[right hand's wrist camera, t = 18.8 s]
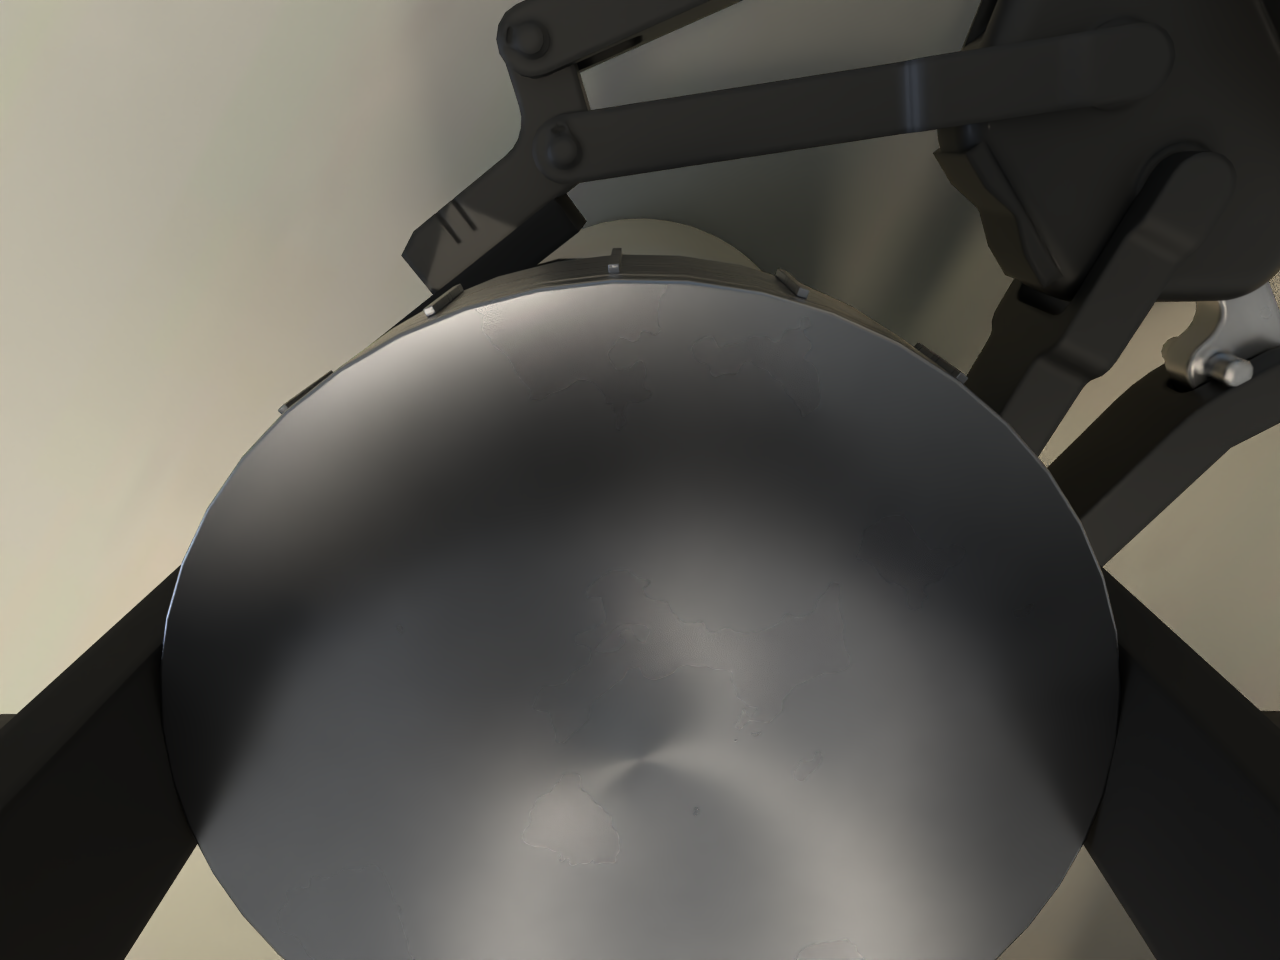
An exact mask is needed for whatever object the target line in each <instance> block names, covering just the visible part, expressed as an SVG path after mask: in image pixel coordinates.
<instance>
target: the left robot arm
mask: <svg viewBox="0 0 1280 960" xmlns="http://www.w3.org/2000/svg"><path fill="white" fill-rule="evenodd" d="M740 1H742V0H525V1H523V2H520V3H518V4H516V5H515V6H513V7H512V8H511V9H510V10H508V11H507V12H506V13H505V14H504V16H503V18H502V19H501V21H500V23H499V25H498V31H497V39H496V40H497V44H498V49H499V54H500V55H501V57H502V58H503V60H504V61H505V63H506V66H507V69H508V72H509V76H510V79H511V82H512V85H513V88H514V91H515V94H516V98H517V101H518V104H519V108H520V113H521V130H520V134H519V138H518V140H517V142H516V144H515V145H514V147H513V149H512V150H511V151H510V152H509V153H508V154H507V155H506V156H505V157H504V158H502V159H501V160H500V161H499V162H498V163H496V164H495V165H494V166H493V167H491V168H490V169H489V170H488V171H487V172H485V173H484V174H483V175H482V176H481V177H479V178H478V179H477V180H476V181H474V182H473V183H472V184H471V185H470V186H468V187H467V188H466V189H465V190H463V191H462V192H461V193H460V194H459V195H457V196H456V197H455V198H454V199H453V200H452V201H450V202H449V203H448V204H446V205H445V206H444V207H443V208H442V209H440V210H439V211H438V212H437V213H436V214H434V215H433V216H432V217H431V218H429V219H428V220H427V221H426V222H424V223H423V224H422V225H421V226H420V227H418V228H417V229H416V230H415V231H414V232H413V234H412V236H411V238H410V240H409V241H408V243H407V245H406V247H405V249H404V251H403V253H402V255H401V256H402V257H403V258H404V259H405V261H406V262H407V263H408V264H409V266H410V267H411V268H412V269H413V270H414V272H415V273H416V274H417V275H418V277H419V278H420V279H421V280H422V281H423V283H424V284H425V285H426V286H427V288H428V289H429V290H430V291H431V293H432V294H433V295H432V296H431V297H430V298H428V299H427V300H426V301H425V302H423V303H422V304H421V305H420V306H418V307H417V308H416V309H415V310H413V311H412V312H411V313H410V314H408V315H407V316H406V317H405V318H403V319H402V320H401V321H400V322H398V323H397V324H396V325H395V326H393V327H392V328H391V329H393V328H394V327H396V326H398V325H400V324H401V323H403V322H405V321H406V320H408V319H410V318H412V317H413V316H415V315H417V314H418V313H420V312H422V311H423V309H424V308H425V307H427V306H428V305H429V304H431V303H432V302H433V301H435V300H436V299H437V298H439V297H440V296H441V295H443V294H444V293H446V292H447V291H448V290H450V289H451V288H452V287H454V286H456V285H458V284H461V286H462V288H463V290H467V289H469V288H472V287H474V286H476V285H479V284H481V283H484V282H486V281H489V280H491V279H493V278H496V277H499V276H503V275H506V274H510V273H514V272H518V271H522V270H526V269H530V268H534V267H535V266H536V265H537V264H539V263H540V262H541V261H543V260H544V259H545V258H546V257H548V256H549V255H550V254H552V253H553V252H554V251H555V250H557V249H558V248H559V247H561V246H562V245H563V244H564V243H566V242H567V241H568V240H569V239H571V238H572V237H573V236H575V235H576V234H577V233H578V232H579V231H580V230H581V228H582V227H583V226H584V224H585V223H586V220H585V218H584V217H583V216H582V214H581V213H580V212H579V210H578V209H577V207H576V206H575V205H574V203H573V202H572V201H571V199H570V198H569V197H568V195H567V194H566V193H567V192H569V191H570V190H571V189H572V188H574V187H575V186H576V185H577V184H579V183H581V182H588V181H595V180H601V179H608V178H614V177H621V176H627V175H634V174H641V173H647V172H654V171H660V170H667V169H674V168H680V167H687V166H693V165H700V164H707V163H713V162H720V161H726V160H733V159H739V158H746V157H753V156H759V155H766V154H772V153H779V152H786V151H792V150H799V149H805V148H812V147H818V146H825V145H832V144H838V143H845V142H851V141H858V140H865V139H871V138H878V137H884V136H891V135H898V134H905V133H913V132H921V131H928V130H935V129H937V133H938V142H939V146H940V148H939V149H938V150H936V151H935V152H934V153H933V154H934V156H935V157H936V159H937V161H938V162H939V164H940V166H941V167H942V169H943V171H944V172H945V174H946V176H947V178H948V179H949V181H950V183H951V184H952V185H953V186H954V187H955V188H956V189H957V190H958V191H960V192H961V193H962V194H963V195H964V196H965V197H966V198H967V199H968V200H969V201H970V202H972V203H973V204H974V205H975V206H976V207H977V208H978V210H979V212H980V216H981V220H982V224H983V228H984V232H985V235H986V239H987V243H988V247H989V248H990V250H991V252H992V253H993V255H994V257H995V258H996V260H997V262H998V263H999V265H1000V267H1001V268H1002V270H1003V272H1004V273H1005V275H1007V276H1010V277H1013V278H1014V280H1013V282H1012V283H1011V285H1010V287H1009V288H1008V290H1007V292H1006V293H1005V295H1004V297H1003V299H1002V300H1001V302H1000V304H999V305H998V307H997V309H996V311H995V313H994V316H993V319H992V332H991V335H990V337H989V339H988V341H987V343H986V344H985V346H984V348H983V349H982V351H981V353H980V354H979V356H978V358H977V359H976V361H975V363H974V364H973V366H972V368H971V369H970V371H969V373H968V374H967V377H968V379H967V380H966V382H965V383H964V385H965V386H966V387H968V388H969V389H970V390H971V391H972V392H973V393H975V394H976V395H977V396H978V397H979V398H980V399H981V400H983V401H984V402H985V403H986V404H987V405H988V406H990V407H991V408H992V409H993V410H994V411H995V412H997V413H998V414H999V415H1000V416H1001V417H1002V418H1004V419H1005V420H1006V421H1007V422H1008V423H1009V424H1010V425H1011V427H1012V428H1013V429H1014V430H1015V431H1016V432H1017V434H1018V435H1019V436H1020V437H1021V438H1022V439H1023V441H1024V442H1025V443H1026V444H1027V445H1028V446H1029V448H1030V449H1031V450H1032V451H1033V452H1034V453H1035V454H1036V456H1037V457H1038V456H1039V455H1040V453H1041V451H1042V450H1043V448H1044V447H1045V445H1046V444H1047V442H1048V441H1049V439H1050V438H1051V436H1052V435H1053V433H1054V431H1055V430H1056V428H1057V427H1058V425H1059V424H1060V422H1061V421H1062V419H1063V418H1064V416H1065V415H1066V413H1067V411H1068V410H1069V408H1070V407H1071V405H1072V404H1073V402H1074V401H1075V399H1076V398H1077V396H1078V395H1079V393H1080V392H1081V390H1082V389H1083V387H1084V386H1085V385H1086V384H1087V383H1088V382H1089V381H1091V380H1093V379H1095V378H1098V377H1100V376H1102V375H1104V374H1105V373H1106V372H1107V371H1108V370H1110V368H1111V367H1112V366H1113V365H1114V364H1115V362H1116V361H1117V359H1118V358H1119V356H1120V355H1121V353H1122V352H1123V350H1124V349H1125V347H1126V346H1127V344H1128V343H1129V341H1130V340H1131V338H1132V337H1133V335H1134V334H1135V332H1136V331H1137V329H1138V327H1139V326H1140V324H1141V323H1142V321H1143V320H1144V318H1145V317H1146V315H1147V314H1148V312H1149V311H1150V309H1151V308H1152V306H1153V305H1154V303H1155V302H1188V301H1196V304H1197V305H1196V313H1195V316H1194V319H1193V321H1192V323H1191V324H1190V325H1189V327H1188V328H1187V329H1186V330H1185V331H1184V332H1183V333H1182V334H1181V335H1179V336H1178V337H1173V338H1171V339H1169V340H1167V341H1166V343H1165V344H1164V345H1163V348H1162V351H1161V352H1162V357H1163V358H1164V359H1165V364H1163V365H1161V366H1160V367H1158V368H1156V369H1155V370H1153V371H1151V372H1150V373H1148V374H1147V375H1146V376H1144V377H1143V378H1142V379H1140V380H1139V381H1137V382H1136V383H1135V384H1133V385H1132V386H1131V387H1130V388H1129V389H1128V390H1126V391H1125V392H1124V393H1123V394H1122V395H1121V396H1120V397H1119V398H1118V399H1116V400H1115V401H1114V402H1113V403H1112V404H1111V405H1110V406H1109V407H1108V408H1107V409H1106V410H1105V411H1104V412H1103V413H1102V414H1101V415H1100V416H1099V417H1098V418H1097V419H1096V420H1095V421H1094V422H1093V423H1092V424H1091V425H1090V426H1089V427H1088V428H1087V429H1086V430H1085V431H1084V432H1083V433H1082V434H1081V435H1080V436H1079V437H1078V438H1077V439H1076V440H1075V441H1074V442H1073V443H1072V444H1071V445H1070V446H1069V447H1068V448H1067V449H1066V450H1065V451H1064V452H1063V453H1062V454H1061V455H1060V456H1059V457H1058V458H1057V459H1056V460H1055V461H1054V462H1053V463H1052V464H1050V465H1049V466H1048V467H1047V468H1048V470H1049V471H1050V473H1051V474H1052V476H1053V477H1054V479H1055V481H1056V482H1057V484H1058V486H1059V487H1060V489H1061V490H1062V492H1063V494H1064V495H1065V497H1066V498H1067V499H1068V501H1069V503H1070V505H1071V507H1072V508H1073V510H1074V511H1075V513H1076V515H1077V516H1078V518H1079V519H1080V521H1081V523H1082V525H1083V528H1084V530H1085V533H1086V535H1087V537H1088V540H1089V542H1090V544H1091V547H1092V549H1093V552H1094V554H1095V556H1096V559H1097V561H1098V564H1099V565H1100V566H1102V567H1103V566H1104V565H1105V564H1106V563H1107V562H1108V561H1109V560H1110V559H1111V558H1112V557H1113V556H1115V555H1116V554H1117V553H1118V552H1119V551H1120V550H1121V549H1122V548H1123V547H1124V546H1125V545H1126V544H1127V543H1129V542H1130V541H1131V540H1132V539H1133V538H1134V537H1135V536H1136V535H1137V534H1138V533H1139V532H1140V531H1141V530H1143V529H1144V528H1145V527H1146V526H1147V525H1148V524H1149V523H1150V522H1151V521H1152V520H1153V519H1154V518H1156V517H1157V516H1158V515H1159V514H1160V513H1161V512H1162V511H1163V510H1164V509H1165V508H1166V507H1167V506H1168V505H1170V504H1171V503H1172V502H1173V501H1174V500H1175V499H1176V498H1177V497H1178V496H1179V495H1180V494H1181V493H1182V492H1184V491H1185V490H1186V489H1187V488H1188V487H1189V486H1190V485H1191V484H1192V483H1193V482H1194V481H1195V480H1196V479H1198V478H1199V477H1200V476H1201V475H1202V474H1203V473H1204V472H1205V471H1206V470H1207V469H1208V468H1209V467H1211V466H1212V465H1213V464H1214V463H1215V462H1216V461H1217V460H1218V459H1219V458H1220V457H1221V456H1222V455H1223V454H1225V453H1226V452H1227V451H1228V450H1229V449H1230V448H1231V447H1233V446H1235V445H1237V444H1239V443H1241V442H1243V441H1245V440H1247V439H1249V438H1251V437H1253V436H1255V435H1257V434H1259V433H1261V432H1263V431H1265V430H1267V429H1269V428H1271V427H1272V426H1274V425H1276V424H1278V423H1280V311H1279V308H1278V305H1277V303H1276V300H1275V297H1274V294H1273V292H1272V289H1271V286H1270V283H1269V280H1270V279H1272V278H1273V277H1274V276H1275V275H1276V273H1277V272H1278V271H1279V270H1280V0H981V2H980V5H979V7H978V10H977V12H976V15H975V17H974V20H973V22H972V25H971V27H970V30H969V32H968V35H967V37H966V40H965V42H964V45H963V47H962V50H961V51H960V52H954V53H947V54H941V55H935V56H929V57H923V58H918V59H913V60H908V61H903V62H898V63H892V64H885V65H879V66H872V67H866V68H860V69H853V70H847V71H840V72H834V73H827V74H821V75H815V76H808V77H802V78H795V79H789V80H782V81H776V82H770V83H763V84H757V85H750V86H744V87H738V88H731V89H725V90H718V91H712V92H705V93H699V94H693V95H686V96H680V97H673V98H667V99H661V100H654V101H648V102H641V103H635V104H628V105H622V106H616V107H609V108H603V109H596V110H591V109H590V106H589V102H588V99H587V95H586V92H585V89H584V85H583V82H582V78H581V75H580V72H582V71H585V70H587V69H589V68H591V67H594V66H596V65H598V64H600V63H603V62H605V61H607V60H609V59H612V58H614V57H616V56H618V55H621V54H623V53H625V52H627V51H630V50H632V49H634V48H636V47H639V46H641V45H643V44H645V43H648V42H650V41H652V40H654V39H657V38H659V37H661V36H663V35H666V34H668V33H670V32H672V31H675V30H677V29H679V28H681V27H684V26H686V25H688V24H690V23H693V22H695V21H697V20H699V19H702V18H704V17H706V16H708V15H711V14H713V13H715V12H717V11H720V10H722V9H724V8H726V7H729V6H731V5H733V4H735V3H738V2H740ZM391 329H390V330H391ZM390 330H388V331H387V332H389V331H390ZM387 332H386V333H387ZM386 333H385V334H386ZM383 335H384V334H383ZM383 335H382V336H383ZM382 336H381V337H382ZM378 339H379V338H378ZM378 339H377V340H378ZM374 342H375V341H374ZM374 342H373V343H374Z"/></svg>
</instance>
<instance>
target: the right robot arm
mask: <svg viewBox="0 0 1280 960" xmlns="http://www.w3.org/2000/svg"><path fill="white" fill-rule="evenodd" d="M1099 566H1100V565H1099ZM180 568H181V565H180V566H179V567H178V568H177V569H176V570H175V571H174V572H172V573H171V574H170V575H169V576H168V577H167V578H166V579H165V580H164V581H163V582H161V583H160V584H159V585H158V586H157V587H156V588H155V589H154V590H153V591H152V592H150V593H149V594H148V595H147V596H146V597H145V598H144V599H143V600H142V601H141V602H139V603H138V604H137V605H136V606H135V607H134V608H133V609H132V610H131V611H130V612H128V613H127V614H126V615H125V616H124V617H123V618H122V619H121V620H120V621H119V622H118V623H116V624H115V625H114V626H113V627H112V628H111V629H110V630H109V631H108V632H107V633H105V634H104V635H103V636H102V637H101V638H100V639H99V640H98V641H97V642H96V643H94V644H93V645H92V646H91V647H90V648H89V649H88V650H87V651H86V652H85V653H83V654H82V655H81V656H80V657H79V658H78V659H77V660H76V661H75V662H74V663H72V664H71V665H70V666H69V667H68V668H67V669H66V670H65V671H64V672H63V673H61V674H60V675H59V676H58V677H57V678H56V679H55V680H54V681H53V682H52V683H50V684H49V685H48V686H47V687H46V688H45V689H44V690H43V691H42V692H41V693H39V694H38V695H37V696H36V697H35V698H34V699H33V700H32V701H31V702H30V703H28V704H27V705H26V706H25V707H24V708H23V709H22V710H21V711H20V712H19V713H17V714H1V715H0V960H124V959H125V957H126V956H127V954H128V953H129V951H130V949H131V948H132V946H133V945H134V943H135V942H136V940H137V938H138V937H139V935H140V934H141V932H142V931H143V929H144V927H145V926H146V924H147V923H148V921H149V919H150V918H151V916H152V915H153V913H154V912H155V910H156V908H157V907H158V905H159V904H160V902H161V901H162V899H163V897H164V896H165V894H166V893H167V891H168V890H169V888H170V886H171V885H172V883H173V882H174V880H175V879H176V877H177V875H178V874H179V872H180V871H181V869H182V868H183V866H184V864H185V863H186V861H187V860H188V858H189V856H190V855H191V853H192V852H193V850H194V849H195V847H196V845H197V844H198V843H197V842H196V840H195V838H194V836H193V834H192V832H191V830H190V828H189V825H188V823H187V820H186V817H185V814H184V811H183V809H182V806H181V803H180V800H179V797H178V795H177V792H176V789H175V786H174V783H173V779H172V774H171V769H170V764H169V760H168V755H167V750H166V745H165V741H164V736H163V731H162V720H161V695H160V666H161V658H162V649H163V641H164V633H165V624H166V616H167V613H168V609H169V606H170V602H171V599H172V595H173V592H174V588H175V585H176V581H177V578H178V575H179V571H180ZM1100 568H1101V571H1102V573H1103V576H1104V579H1105V583H1106V588H1107V592H1108V596H1109V600H1110V604H1111V608H1112V613H1113V617H1114V621H1115V625H1116V629H1117V637H1118V650H1119V663H1120V677H1121V698H1120V710H1119V722H1118V733H1117V738H1116V743H1115V748H1114V752H1113V757H1112V761H1111V766H1110V770H1109V775H1108V779H1107V784H1106V788H1105V793H1104V795H1103V798H1102V800H1101V803H1100V805H1099V808H1098V810H1097V813H1096V815H1095V818H1094V820H1093V823H1092V825H1091V828H1090V830H1089V833H1088V835H1087V838H1086V840H1085V842H1084V844H1083V845H1084V846H1085V848H1086V849H1087V851H1088V852H1089V854H1090V856H1091V857H1092V859H1093V860H1094V862H1095V863H1096V865H1097V867H1098V868H1099V870H1100V871H1101V873H1102V874H1103V876H1104V878H1105V879H1106V881H1107V882H1108V884H1109V885H1110V887H1111V889H1112V890H1113V892H1114V893H1115V895H1116V897H1117V898H1118V900H1119V901H1120V903H1121V904H1122V906H1123V908H1124V909H1125V911H1126V912H1127V914H1128V915H1129V917H1130V919H1131V920H1132V922H1133V923H1134V925H1135V926H1136V928H1137V930H1138V931H1139V933H1140V934H1141V936H1142V937H1143V939H1144V941H1145V942H1146V944H1147V945H1148V947H1149V948H1150V950H1151V952H1152V953H1153V955H1154V956H1155V958H1156V959H1157V960H1280V711H1260V710H1259V709H1258V708H1257V707H1255V706H1254V705H1253V704H1252V703H1251V702H1250V701H1249V700H1248V699H1247V698H1246V697H1244V696H1243V695H1242V694H1241V693H1240V692H1239V691H1238V690H1237V689H1236V688H1235V687H1233V686H1232V685H1231V684H1230V683H1229V682H1228V681H1227V680H1226V679H1225V678H1224V677H1222V676H1221V675H1220V674H1219V673H1218V672H1217V671H1216V670H1215V669H1214V668H1213V667H1211V666H1210V665H1209V664H1208V663H1207V662H1206V661H1205V660H1204V659H1203V658H1202V657H1201V656H1199V655H1198V654H1197V653H1196V652H1195V651H1194V650H1193V649H1192V648H1191V647H1190V646H1188V645H1187V644H1186V643H1185V642H1184V641H1183V640H1182V639H1181V638H1180V637H1179V636H1177V635H1176V634H1175V633H1174V632H1173V631H1172V630H1171V629H1170V628H1169V627H1168V626H1166V625H1165V624H1164V623H1163V622H1162V621H1161V620H1160V619H1159V618H1158V617H1157V616H1155V615H1154V614H1153V613H1152V612H1151V611H1150V610H1149V609H1148V608H1147V607H1146V606H1144V605H1143V604H1142V603H1141V602H1140V601H1139V600H1138V599H1137V598H1136V597H1135V596H1133V595H1132V594H1131V593H1130V592H1129V591H1128V590H1127V589H1126V588H1125V587H1124V586H1122V585H1121V584H1120V583H1119V582H1118V581H1117V580H1116V579H1115V578H1114V577H1113V576H1111V575H1110V574H1109V573H1108V572H1107V571H1106V570H1105V569H1104V568H1103V567H1102V566H1100Z"/></svg>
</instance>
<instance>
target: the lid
mask: <svg viewBox="0 0 1280 960" xmlns="http://www.w3.org/2000/svg"><path fill="white" fill-rule="evenodd" d="M967 379H968V377H967V376H966V375H964V374H963V373H962V372H961V371H959V370H958V369H956V368H955V367H953V366H952V365H951V364H949V363H948V362H946V361H945V360H943V359H942V358H941V357H939V356H938V355H936V354H935V353H933V352H932V351H930V350H929V349H928V348H926V347H925V346H923V345H922V344H920V343H919V342H918V343H917V344H916V345H915V346H914V347H913V346H912V345H910V344H909V343H908V342H906V341H905V340H903V339H902V338H901V337H899V336H898V335H896V334H894V333H893V332H891V331H890V330H888V329H887V328H885V327H883V326H882V325H880V324H879V323H877V322H876V321H874V320H872V319H871V318H869V317H868V316H866V315H865V314H863V313H861V312H860V311H858V310H857V309H855V308H854V307H852V306H850V305H848V304H845V303H843V302H841V301H839V300H837V299H834V298H832V297H830V296H828V295H826V294H823V293H821V292H819V291H817V290H814V289H812V288H810V287H808V286H806V285H803V284H801V283H800V282H799V281H798V280H796V279H795V278H794V277H793V276H792V275H790V274H789V273H788V272H787V271H786V270H782V269H779V268H778V269H777V272H776V274H775V275H773V274H769V273H766V272H763V271H759V270H756V269H752V268H749V267H746V266H742V265H738V264H731V263H725V262H718V261H712V260H705V259H699V258H692V257H686V256H679V255H622V248H613V249H612V253H611V255H608V256H600V257H591V258H583V259H574V260H566V261H557V262H553V263H549V264H545V265H541V266H538V267H534V268H530V269H526V270H522V271H518V272H514V273H510V274H506V275H503V276H499V277H496V278H493V279H491V280H489V281H486V282H484V283H481V284H479V285H476V286H474V287H472V288H469V289H467V290H463V288H462V286H461V284H458V285H456V286H454V287H452V288H451V289H450V290H448V291H447V292H446V293H444V294H443V295H441V296H440V297H439V298H437V299H436V300H435V301H433V302H432V303H431V304H429V305H428V306H427V307H425V308H424V309H423V311H422V312H420V313H418V314H417V315H415V316H413V317H412V318H410V319H408V320H406V321H405V322H403V323H401V324H400V325H398V326H396V327H394V328H393V329H391V330H390V331H389V332H387V333H386V334H384V335H383V336H382V337H380V338H379V339H378V340H376V341H375V342H374V343H372V344H371V345H369V346H368V347H367V348H365V349H364V350H363V351H361V352H360V353H359V354H357V355H356V356H354V357H353V358H352V359H350V360H349V361H348V362H346V363H345V364H344V365H342V366H341V367H339V368H338V369H337V370H336V371H334V372H333V371H329V372H328V373H326V374H325V375H324V376H322V377H321V378H319V379H318V380H317V381H315V382H314V383H313V384H311V385H310V386H308V387H307V388H306V389H304V390H303V391H301V392H300V393H299V394H297V395H296V396H295V397H293V398H292V399H290V400H289V401H288V402H286V403H285V404H284V405H283V406H282V407H281V408H280V409H279V410H278V411H279V412H280V413H281V414H282V415H281V416H280V417H279V418H278V419H277V420H276V421H275V422H274V423H273V424H272V425H271V427H270V428H269V429H268V430H267V431H266V432H265V433H264V434H263V435H262V436H261V437H260V438H259V439H258V441H257V442H256V443H255V444H254V445H253V446H252V447H251V448H250V449H249V450H248V451H247V452H246V453H245V454H244V456H243V457H242V458H241V459H240V461H239V462H238V464H237V465H236V467H235V468H234V470H233V471H232V473H231V474H230V476H229V477H228V478H227V480H226V481H225V483H224V484H223V486H222V487H221V489H220V490H219V492H218V493H217V495H216V496H215V498H214V499H213V501H212V502H211V504H210V505H209V506H208V508H207V510H206V512H205V514H204V516H203V518H202V521H201V523H200V525H199V527H198V529H197V531H196V533H195V536H194V538H193V540H192V542H191V544H190V546H189V548H188V550H187V553H186V555H185V557H184V559H183V561H182V564H181V568H180V571H179V575H178V578H177V581H176V585H175V588H174V592H173V595H172V599H171V602H170V606H169V609H168V613H167V616H166V624H165V633H164V641H163V649H162V658H161V666H160V695H161V720H162V731H163V736H164V741H165V745H166V750H167V755H168V760H169V764H170V769H171V774H172V779H173V783H174V786H175V789H176V792H177V795H178V797H179V800H180V803H181V806H182V809H183V811H184V814H185V817H186V820H187V823H188V825H189V828H190V830H191V832H192V834H193V836H194V838H195V840H196V842H197V843H198V845H199V847H200V849H201V851H202V853H203V855H204V857H205V859H206V861H207V863H208V864H209V866H210V868H211V870H212V872H213V874H214V875H215V877H216V878H217V880H218V881H219V882H220V884H221V885H222V887H223V888H224V890H225V891H226V892H227V894H228V895H229V897H230V898H231V899H232V901H233V902H234V904H235V905H236V907H237V908H238V909H239V911H240V912H241V914H242V915H243V916H244V917H245V918H246V920H247V921H248V922H249V923H250V924H251V925H252V926H253V927H254V928H255V929H256V931H257V932H258V933H259V934H260V935H261V936H262V937H263V938H264V939H265V940H266V941H267V943H268V944H269V945H270V946H271V947H272V948H273V949H274V950H275V951H276V952H277V953H278V954H279V955H280V956H281V957H282V958H283V959H284V960H996V959H997V958H998V957H999V956H1000V955H1001V954H1002V953H1003V952H1004V951H1005V950H1006V949H1007V948H1008V947H1009V946H1010V945H1011V944H1012V943H1013V942H1014V941H1015V940H1016V939H1017V938H1018V937H1019V936H1020V935H1021V934H1022V933H1023V931H1024V930H1025V929H1026V928H1027V927H1028V926H1029V925H1030V924H1031V922H1032V921H1033V920H1034V919H1035V917H1036V916H1037V915H1038V913H1039V912H1040V911H1041V909H1042V908H1043V907H1044V905H1045V904H1046V903H1047V901H1048V900H1049V899H1050V897H1051V896H1052V895H1053V894H1054V892H1055V891H1056V890H1057V888H1058V887H1059V886H1060V884H1061V882H1062V881H1063V879H1064V877H1065V875H1066V874H1067V872H1068V870H1069V868H1070V867H1071V865H1072V863H1073V861H1074V859H1075V858H1076V856H1077V854H1078V852H1079V851H1080V849H1081V847H1082V845H1083V844H1084V842H1085V840H1086V838H1087V835H1088V833H1089V830H1090V828H1091V825H1092V823H1093V820H1094V818H1095V815H1096V813H1097V810H1098V808H1099V805H1100V803H1101V800H1102V798H1103V795H1104V793H1105V788H1106V784H1107V779H1108V775H1109V770H1110V766H1111V761H1112V757H1113V752H1114V748H1115V743H1116V738H1117V733H1118V722H1119V710H1120V698H1121V677H1120V663H1119V650H1118V637H1117V629H1116V625H1115V621H1114V617H1113V613H1112V608H1111V604H1110V600H1109V596H1108V592H1107V588H1106V583H1105V579H1104V576H1103V573H1102V571H1101V568H1100V566H1099V564H1098V561H1097V559H1096V556H1095V554H1094V552H1093V549H1092V547H1091V544H1090V542H1089V540H1088V537H1087V535H1086V533H1085V530H1084V528H1083V525H1082V523H1081V521H1080V519H1079V518H1078V516H1077V515H1076V513H1075V511H1074V510H1073V508H1072V507H1071V505H1070V503H1069V501H1068V499H1067V498H1066V497H1065V495H1064V494H1063V492H1062V490H1061V489H1060V487H1059V486H1058V484H1057V482H1056V481H1055V479H1054V477H1053V476H1052V474H1051V473H1050V471H1049V470H1048V468H1047V467H1046V466H1045V465H1044V464H1043V463H1042V461H1041V460H1040V459H1039V458H1038V457H1037V456H1036V454H1035V453H1034V452H1033V451H1032V450H1031V449H1030V448H1029V446H1028V445H1027V444H1026V443H1025V442H1024V441H1023V439H1022V438H1021V437H1020V436H1019V435H1018V434H1017V432H1016V431H1015V430H1014V429H1013V428H1012V427H1011V425H1010V424H1009V423H1008V422H1007V421H1006V420H1005V419H1004V418H1002V417H1001V416H1000V415H999V414H998V413H997V412H995V411H994V410H993V409H992V408H991V407H990V406H988V405H987V404H986V403H985V402H984V401H983V400H981V399H980V398H979V397H978V396H977V395H976V394H975V393H973V392H972V391H971V390H970V389H969V388H968V387H966V386H965V385H964V383H965V382H966V380H967Z"/></svg>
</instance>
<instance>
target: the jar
mask: <svg viewBox="0 0 1280 960" xmlns="http://www.w3.org/2000/svg"><path fill="white" fill-rule="evenodd" d="M613 248H622V255H679V256H686V257H692V258H699V259H705V260H712V261H718V262H725V263H731V264H738V265H742V266H746V267H749V268H752V269H756V270H759V271H761V270H760V269H759V268H758V267H757V266H756V265H755V264H754V263H753V262H752V261H751V260H750V259H749V258H748V257H746V256H745V255H744V254H742V253H741V252H740V251H738V250H737V249H736V248H735V247H733V246H731V245H730V244H728V243H726V242H724V241H723V240H721V239H719V238H718V237H716V236H714V235H712V234H709V233H707V232H704V231H702V230H699V229H697V228H694V227H692V226H688V225H684V224H680V223H676V222H672V221H665V220H656V219H622V220H616V221H609V222H603V223H599V224H596V225H593V226H589V227H586V228H583V229H581V230H580V231H579V232H578V233H577V234H576V235H575V236H573V237H572V238H571V239H569V240H568V241H567V242H566V243H564V244H563V245H562V246H561V247H559V248H558V249H557V250H555V251H554V252H553V253H552V254H550V255H549V256H548V257H546V258H545V259H544V260H543V261H541V262H540V263H539V264H537V265H536V266H535V267H538V266H541V265H545V264H549V263H553V262H557V261H566V260H574V259H583V258H591V257H600V256H608V255H611V253H612V249H613Z"/></svg>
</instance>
